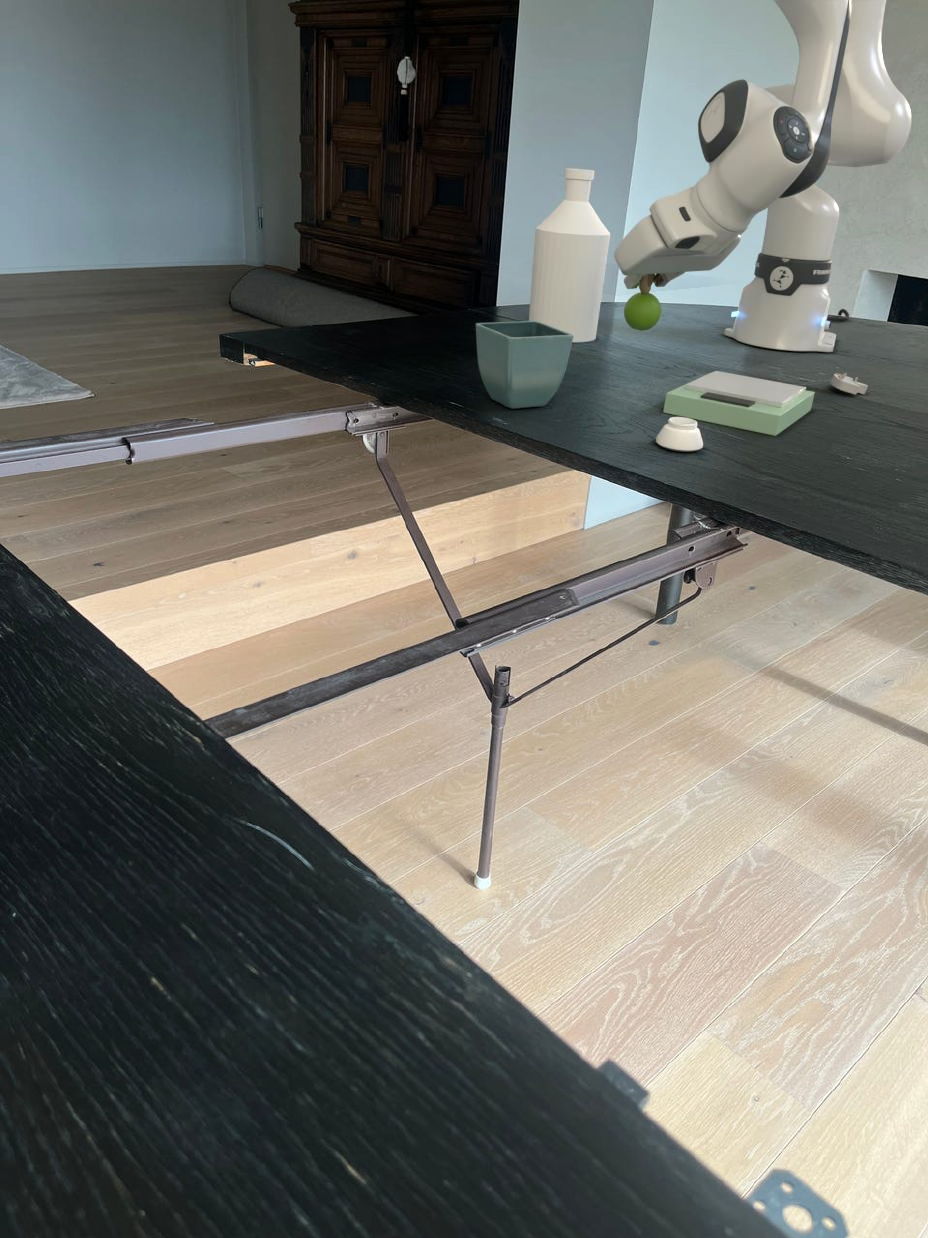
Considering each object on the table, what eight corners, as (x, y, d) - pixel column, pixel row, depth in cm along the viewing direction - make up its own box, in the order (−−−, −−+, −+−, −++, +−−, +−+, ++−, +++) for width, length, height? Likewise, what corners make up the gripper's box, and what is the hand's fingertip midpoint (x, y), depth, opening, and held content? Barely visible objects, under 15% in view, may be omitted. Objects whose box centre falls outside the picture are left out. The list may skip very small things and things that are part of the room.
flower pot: (503, 415, 111) (510, 336, 107) (468, 396, 118) (473, 322, 114) (567, 410, 115) (575, 334, 111) (529, 392, 122) (536, 320, 118)
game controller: (873, 397, 133) (878, 378, 132) (796, 396, 131) (801, 377, 130) (852, 387, 138) (856, 368, 136) (778, 385, 136) (782, 367, 134)
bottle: (528, 325, 165) (544, 165, 153) (597, 332, 164) (618, 171, 152) (523, 338, 154) (538, 167, 143) (596, 345, 153) (618, 173, 142)
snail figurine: (616, 332, 141) (626, 245, 135) (626, 324, 146) (636, 241, 140) (653, 336, 139) (664, 248, 133) (661, 328, 144) (673, 244, 139)
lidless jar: (646, 443, 105) (679, 456, 101) (650, 417, 104) (684, 429, 100) (677, 438, 108) (711, 450, 104) (681, 412, 106) (716, 424, 103)
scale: (707, 390, 130) (711, 368, 129) (810, 410, 124) (816, 387, 122) (663, 412, 118) (667, 388, 116) (775, 435, 111) (781, 410, 110)
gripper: (744, 200, 135) (680, 263, 146) (647, 199, 124) (585, 268, 135) (764, 237, 134) (697, 298, 145) (668, 240, 123) (603, 306, 134)
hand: (642, 283), depth 140 cm, fingers closed on snail figurine, 5 cm apart
